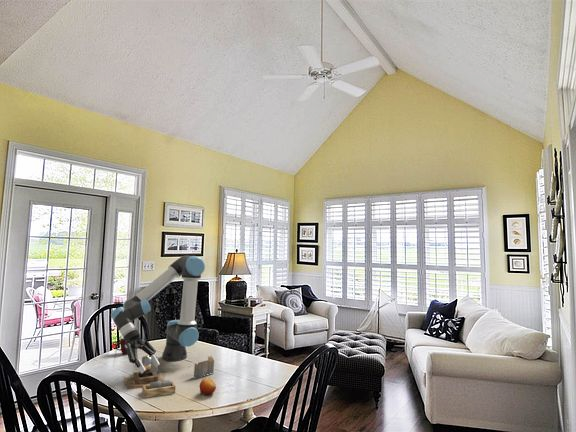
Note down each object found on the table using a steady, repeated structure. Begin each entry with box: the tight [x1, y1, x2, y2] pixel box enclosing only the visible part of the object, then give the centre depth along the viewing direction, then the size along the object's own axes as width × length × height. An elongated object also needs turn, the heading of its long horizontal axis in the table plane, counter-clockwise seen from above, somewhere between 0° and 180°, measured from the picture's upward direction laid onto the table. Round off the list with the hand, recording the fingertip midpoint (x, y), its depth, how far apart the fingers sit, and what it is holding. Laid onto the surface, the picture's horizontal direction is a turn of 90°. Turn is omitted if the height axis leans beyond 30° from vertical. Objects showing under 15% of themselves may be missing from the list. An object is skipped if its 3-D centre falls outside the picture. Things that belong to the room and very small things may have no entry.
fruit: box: [199, 377, 217, 396], centre depth 172 cm, size 8×8×8 cm
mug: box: [115, 336, 127, 355], centre depth 228 cm, size 11×8×10 cm
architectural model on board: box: [193, 355, 215, 379], centre depth 196 cm, size 11×3×10 cm, turn 141°
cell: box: [141, 355, 152, 377], centre depth 184 cm, size 5×5×12 cm
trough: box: [141, 379, 176, 398], centre depth 170 cm, size 14×7×5 cm, turn 119°
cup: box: [151, 355, 159, 373], centre depth 199 cm, size 6×6×7 cm
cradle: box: [124, 370, 166, 390], centre depth 183 cm, size 18×14×4 cm
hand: (150, 368), depth 183 cm, fingers open, 9 cm apart
